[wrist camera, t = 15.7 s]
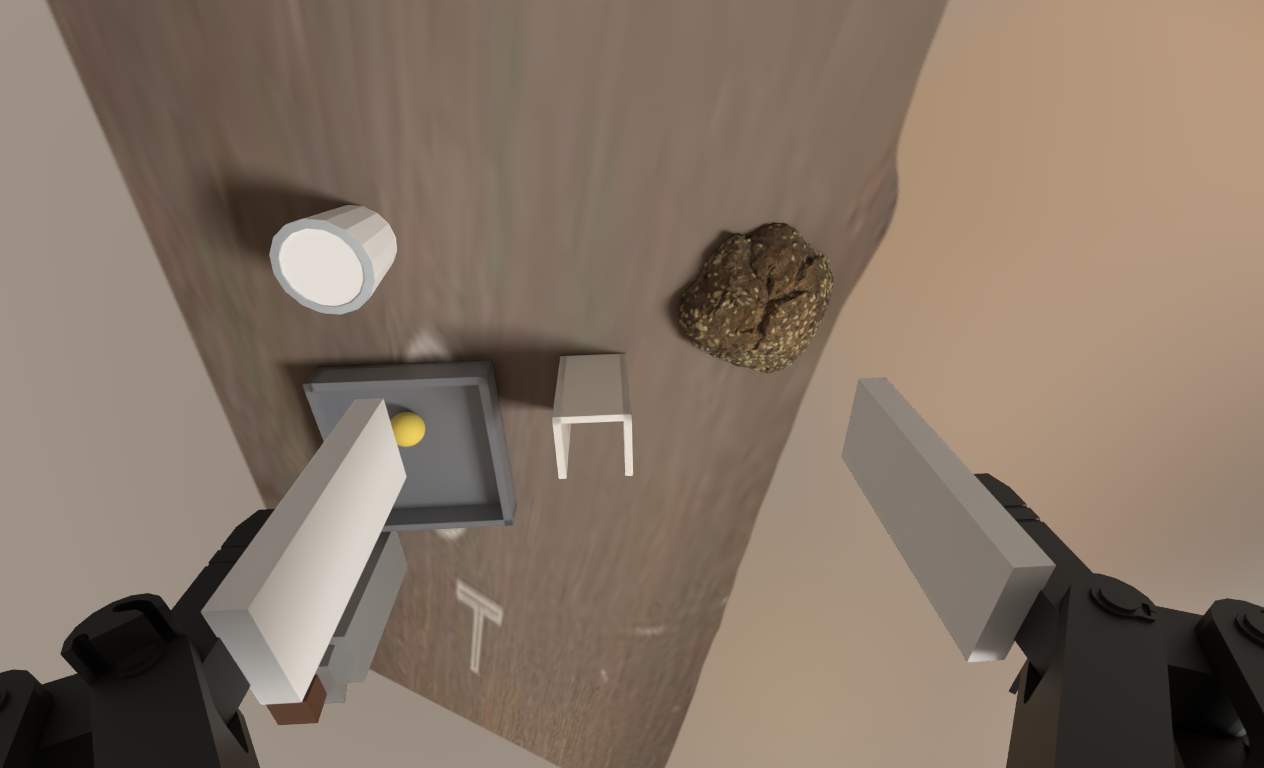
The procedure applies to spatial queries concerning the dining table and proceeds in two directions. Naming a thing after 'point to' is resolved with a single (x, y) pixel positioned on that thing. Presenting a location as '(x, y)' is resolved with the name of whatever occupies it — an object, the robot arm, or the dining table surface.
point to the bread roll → (758, 299)
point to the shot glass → (333, 258)
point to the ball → (407, 428)
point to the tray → (432, 438)
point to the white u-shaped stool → (591, 400)
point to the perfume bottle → (352, 634)
